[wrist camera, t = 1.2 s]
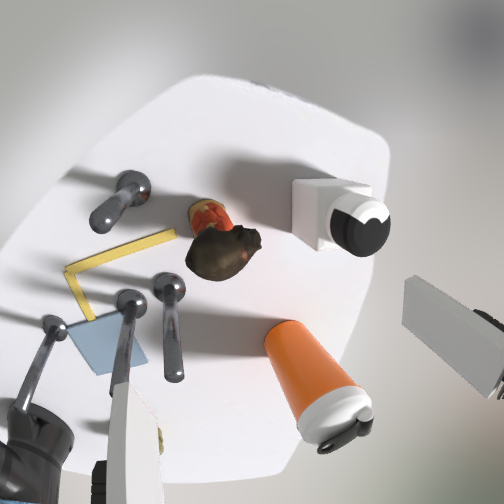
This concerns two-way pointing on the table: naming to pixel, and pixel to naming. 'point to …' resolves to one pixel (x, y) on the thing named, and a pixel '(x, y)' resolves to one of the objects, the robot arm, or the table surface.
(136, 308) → the gate
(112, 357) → the pad
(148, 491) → the robot arm
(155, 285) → the gate
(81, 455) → the table surface
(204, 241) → the figurine
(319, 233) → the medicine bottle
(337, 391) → the shaker bottle
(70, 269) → the guide line
